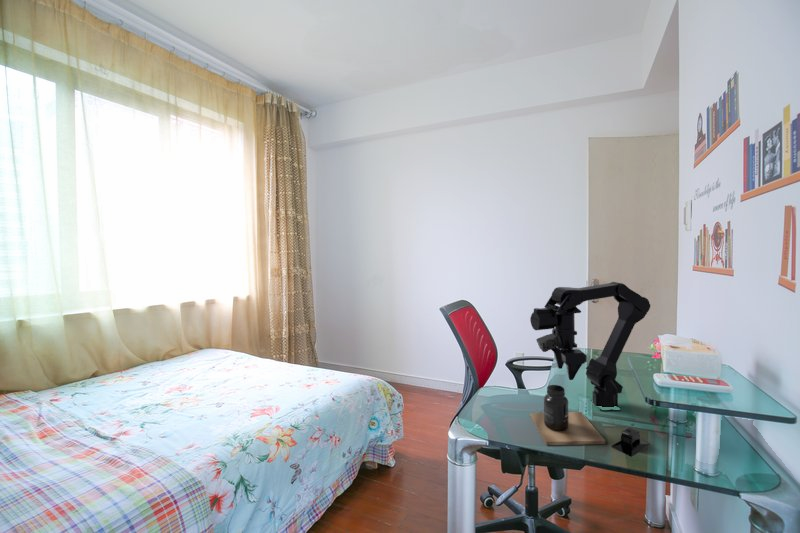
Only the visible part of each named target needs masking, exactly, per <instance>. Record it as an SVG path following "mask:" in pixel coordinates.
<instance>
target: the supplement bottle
mask: <svg viewBox="0 0 800 533" xmlns="http://www.w3.org/2000/svg"><path fill="white" fill-rule="evenodd" d="M546 388H547V389H546V394H545V395H544V397H543V413H544V424H545V426H546V427H547V428H549V429H551V430H554V431H565V430H566V429H567V428H568V423H569V421H568V412H569V399H568V397H567V396H565V395H566V393H565V388H564V387H563V386H562V385H559V384H549V385H548V386H547V387H546Z"/></svg>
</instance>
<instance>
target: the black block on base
mask: <svg viewBox="0 0 800 533" xmlns="http://www.w3.org/2000/svg"><path fill="white" fill-rule="evenodd" d="M650 445H651V444H650V443H649V442H646V441H644V440H641V434H640V431H638V430H635V429H633V428H631V427H627V428H625V429H623V430H622V431H621V434H620V440H619V441H618V442H616V443H614V444H613V445H611V446H610V448H613V449H615V450H616V451H619V452H621V453H623V454H625V455H626V456H629V457H630V458H632V457H633V456H635V455H637V454H638V453H640V452H641V451H642V450H644V449H646V448H647V447H649V446H650Z"/></svg>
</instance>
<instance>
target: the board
mask: <svg viewBox="0 0 800 533" xmlns="http://www.w3.org/2000/svg"><path fill="white" fill-rule="evenodd" d="M530 418H531V420H532V421H533V424H534V425H535V427H536V429H537V431H538V433H539V435H540V436H541V438H542V440H543V441H544V443H545V445H546V446H562V445H563V446H569V445H570V446H573V445H576V446H578V445H606V440H605V439H604V437H603V436H602V435H601V434H600V432H599V431H598V430H597V428H595V427H594V425H593V424H592V423H591V422H590V420H589V419H588V418H587V417H586V416H585V414H583V412H582V411H568V421H569V423H568V428H567V429H566V430H565V431H554V430H551V429H549V428H547V427H546V426H545V424H544V412H533V413H532V412H531V413H530Z"/></svg>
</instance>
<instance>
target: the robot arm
mask: <svg viewBox="0 0 800 533" xmlns="http://www.w3.org/2000/svg"><path fill="white" fill-rule="evenodd" d="M610 297H611V298H612V297H613V299H614V300H615V301H616V302H617V303H618V306H617V314H618V318H617V320H616V322H615V324H614V326H613V328H612V331H611V333H610V335H609V337H608V339H607V342H606V343H605V345H604V348H602V349H603V350H602V352H601V353H600V355H599V357H597V358H596V359H594V358H590V360H589V363H588V365H587V366H586V367H585V369H586V371H585V376H586V378H587V379H588V380H589V381H590V382H589V383H590V384H591V385H593V391H592V400H593V402H592V404H593V403H594V404H593V405H594V406H595V407H596V406H602V407H614V406H618V407H619V405H618V404H619V403H618V401H619V399H618V398H619V395H618V394H621V393H622V391H623V388H624V387H623V385H622V384H620V383H619V382H618V381H617V375H618V372H617V371H618V369H617V362H618V360H620V359H619V358H620V356H621V354H622V353H623V350H624V348H625V346H626V344H627V342H628V340H629V338H630V335H631V333H632V331H633V329H634V327H635V325H636V324H637V323H639V322H640V321H641V320H643V319H644V318H645V316H646V315H647V314H648V312H649V311H650V309H651V304H650V301H649V299H648V298H647V297H645V296H642V295H640V294H639V293H637V292H636V291H634V290H633V289H630V288H629V287H628V286H627V285H626V284H624V283H622V282H618V281H617V282H616V281H611V282H609V283H608V282H607V283H602V284H596V285H590V286H584V287H569V286H568V287H567V286H558V287H555V288H554V289H553V291H552V293H551V296H550V297H549V299H548V300H547V302H546V304H545V305H544V307H543V308H542V307H541V308H539V307H538V308H537V307H535V308H533V312H532V313H531V315H530V324H531V327H532V329H533V330H534V331H543V330H544V331H545V330H551V333H550V334H545V335H543V336H540V337H538V338H537V339H535V340H536V343H537V345H538V348H539V349H540V350H541V351H542V352H543V353H546V352H549V351H552V352H553V354H554V355H553V356H554V358H555V360H556V365H557V368H558V369H563V367H564V364H565V366H566V371H567V376H568V380H569V381H572V380H573V381H574V378H575V376H576V375H577V373H578V372H579V370H580V369H581V367H582V366H583V364H585V363H587V362H588V355H586V354H585V353H584V352H583V351H582V350H581V349H579V348H578V344H577V343H576V341H575V340H576V339H575V338H576V337H575V336H577V335H578V331H577V330H576V329H575V326H576V325H575V314H581V313H582V311H581V309H580V308H578V307H577V306H580V305H582V304H583V303H584V302H586V301H587V302H588V301H592V300H599V299H604V298H605V299H606V298H610Z"/></svg>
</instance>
